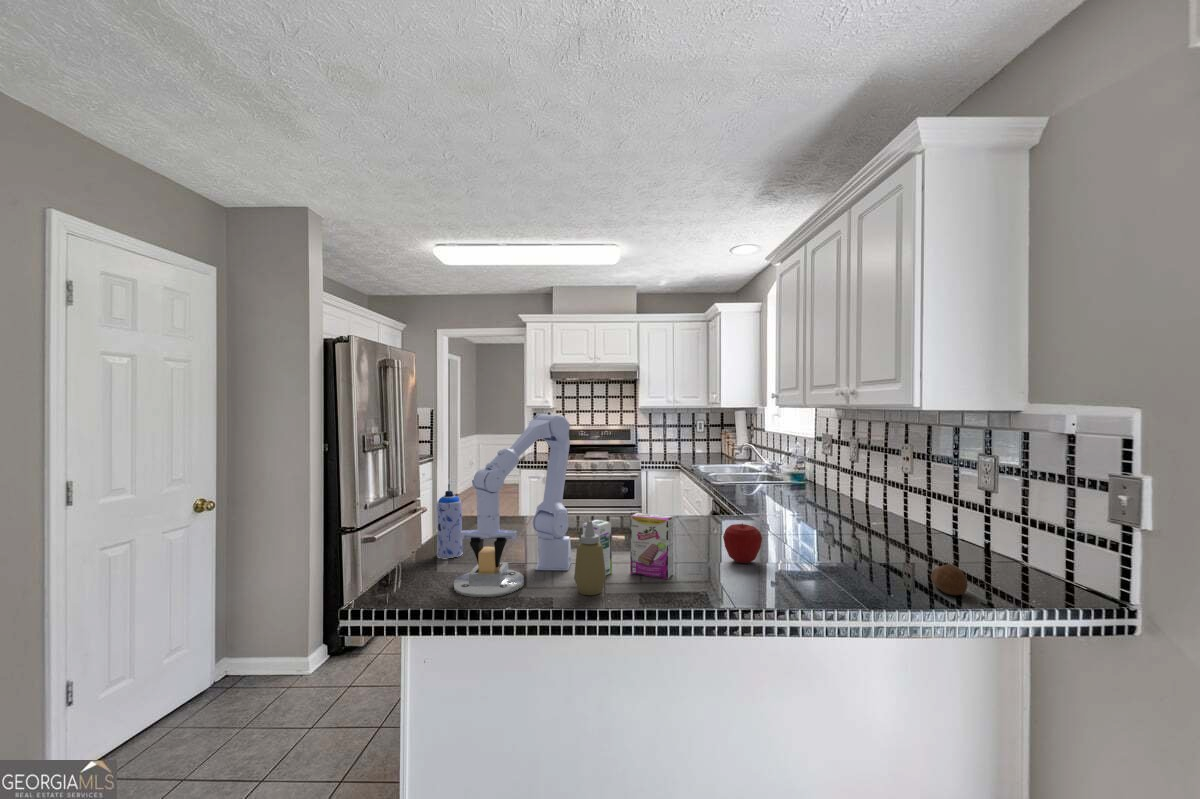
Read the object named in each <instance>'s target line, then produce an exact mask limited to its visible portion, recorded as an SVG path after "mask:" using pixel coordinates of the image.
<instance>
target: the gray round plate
mask: <svg viewBox="0 0 1200 799" xmlns="http://www.w3.org/2000/svg"><path fill="white" fill-rule="evenodd" d="M524 580H525V579H524V575H523V574H522V573H521V572H519V571H517V570H513V569H509V562H505V561H504V562H501V561H500V565H499V570H498V571H497V572H496V573H479V567H478V563H477V564H476V565H475V566H474V568H473V569H472V570H471V571H468V572H466V573H463V574H461V575H459V576H457V577H456V578H455V579H454V581H453V590H454V591H456V593H457V594H458V593H459V594H458V595H460V594H461V595H460V596H463V595H464V596H463V597H467V596H469V597H468V598H475V597H487V598H497V597H501V596H505V595H506V594H507V595H509V593H510V594H513V593H515V592H517V591H518V589H519V588H520V589H521V588H523V586H524V584H525V581H524ZM520 589H519V590H520ZM516 590H517V591H516ZM514 591H515V592H514ZM512 592H513V593H512ZM496 596H497V597H496Z"/></svg>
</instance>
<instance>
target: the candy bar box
mask: <svg viewBox="0 0 1200 799" xmlns="http://www.w3.org/2000/svg"><path fill="white" fill-rule="evenodd" d="M629 519H630V527H629V528H630V536H629V537H630V564H629V565H630V567H629V568H630V570H629V571H630V574H631V575H636V574H637V575H638V576H643V575H644V577H649V576H650V577H651V578H658V579H665V580H668V579H670V577H672V576H673V575H674V516H671V515H661V514H655V513H654V514H653V513H645V512H635V513H633V514H631V515H630V518H629ZM637 575H636V576H637Z"/></svg>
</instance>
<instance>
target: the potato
mask: <svg viewBox="0 0 1200 799" xmlns="http://www.w3.org/2000/svg"><path fill="white" fill-rule="evenodd" d="M930 580H931V582H932V583H933V585H934V586H935V587H936V589H939V590H940V591H941V592H942V593H944V594H946V595H949V596H950V595H951V596H961V595H963V594H965V593H966V591H967V587H968V579H967V577H966V575H965V573H964V572H963V571H962V569H961V568H959V567H958V566H957V565H955V564H954V565H953V564H949V563H947V564H943V565H941V566H939V567H938V566H937V567H936V568H934V569H933V570H932V572H931V574H930Z"/></svg>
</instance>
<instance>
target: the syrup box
mask: <svg viewBox="0 0 1200 799" xmlns="http://www.w3.org/2000/svg"><path fill="white" fill-rule="evenodd" d="M591 521H592V524H593V528H594V533H595V534H597V535H599V542H598V543H600V544H601V545H602V546H603V554H604V563H605V572H606V576H608V575H610V574H612V572H613V561H612V559H613V558H612V551H613V550H612V523H611V521H607V520H604V519H594V520H591ZM586 526H587V522H584V523H582V535H583V534H585V531H586Z"/></svg>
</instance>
